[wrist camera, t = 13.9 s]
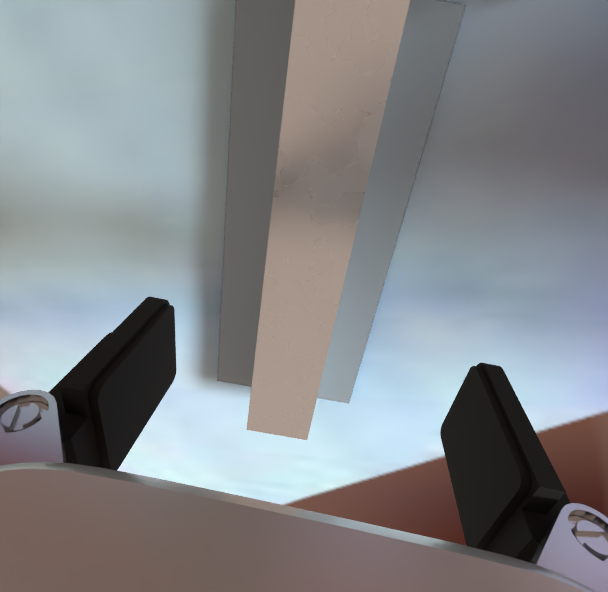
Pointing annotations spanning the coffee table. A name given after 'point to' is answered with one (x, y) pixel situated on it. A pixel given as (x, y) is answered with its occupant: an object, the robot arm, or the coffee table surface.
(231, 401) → the coffee table surface
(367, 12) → the rail
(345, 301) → the mat
